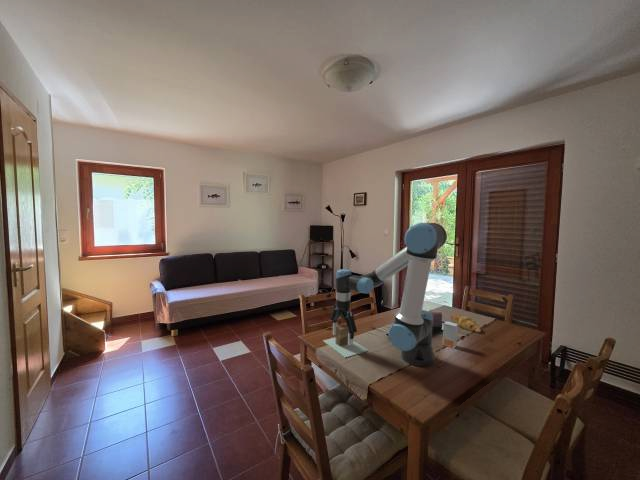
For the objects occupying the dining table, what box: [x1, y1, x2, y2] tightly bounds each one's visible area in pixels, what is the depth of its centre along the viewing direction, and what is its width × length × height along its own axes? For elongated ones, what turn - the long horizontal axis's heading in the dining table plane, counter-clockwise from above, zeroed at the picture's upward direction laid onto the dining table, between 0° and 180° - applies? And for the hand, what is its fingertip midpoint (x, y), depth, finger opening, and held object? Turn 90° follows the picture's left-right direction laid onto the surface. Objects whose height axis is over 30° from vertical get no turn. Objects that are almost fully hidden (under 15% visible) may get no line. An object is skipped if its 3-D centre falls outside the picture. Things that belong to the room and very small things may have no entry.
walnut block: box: [335, 324, 349, 346], centre depth 140 cm, size 4×6×9 cm, turn 121°
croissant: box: [450, 314, 482, 333], centre depth 166 cm, size 21×10×8 cm, turn 21°
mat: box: [322, 336, 369, 359], centre depth 139 cm, size 20×14×1 cm
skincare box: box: [441, 320, 459, 350], centre depth 140 cm, size 6×4×12 cm
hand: (342, 339), depth 141 cm, fingers open, 13 cm apart
